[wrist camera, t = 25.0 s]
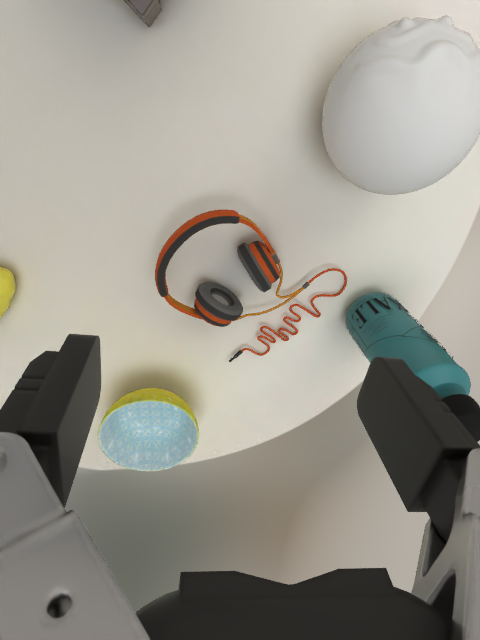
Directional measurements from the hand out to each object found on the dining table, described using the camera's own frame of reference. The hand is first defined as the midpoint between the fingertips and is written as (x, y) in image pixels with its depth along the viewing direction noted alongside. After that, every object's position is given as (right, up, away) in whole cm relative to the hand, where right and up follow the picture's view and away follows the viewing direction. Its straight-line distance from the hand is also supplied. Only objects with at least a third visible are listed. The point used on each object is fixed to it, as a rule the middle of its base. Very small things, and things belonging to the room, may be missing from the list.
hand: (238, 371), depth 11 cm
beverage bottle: (+15, +3, +35) cm, 38 cm away
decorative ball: (+12, +21, +25) cm, 34 cm away
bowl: (-11, -9, +39) cm, 41 cm away
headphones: (0, +6, +32) cm, 32 cm away
